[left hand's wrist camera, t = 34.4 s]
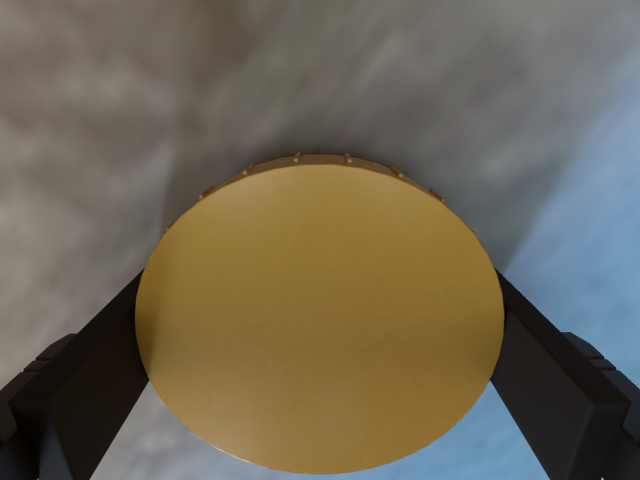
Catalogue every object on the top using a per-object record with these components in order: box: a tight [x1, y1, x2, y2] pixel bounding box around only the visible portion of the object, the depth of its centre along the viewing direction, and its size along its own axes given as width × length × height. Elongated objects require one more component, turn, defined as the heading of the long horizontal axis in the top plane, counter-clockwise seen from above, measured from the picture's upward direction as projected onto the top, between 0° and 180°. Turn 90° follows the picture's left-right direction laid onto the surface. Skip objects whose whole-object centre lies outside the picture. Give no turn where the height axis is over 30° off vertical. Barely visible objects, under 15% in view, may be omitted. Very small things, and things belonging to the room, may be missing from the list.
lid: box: [135, 152, 505, 474], centre depth 11 cm, size 11×11×2 cm
